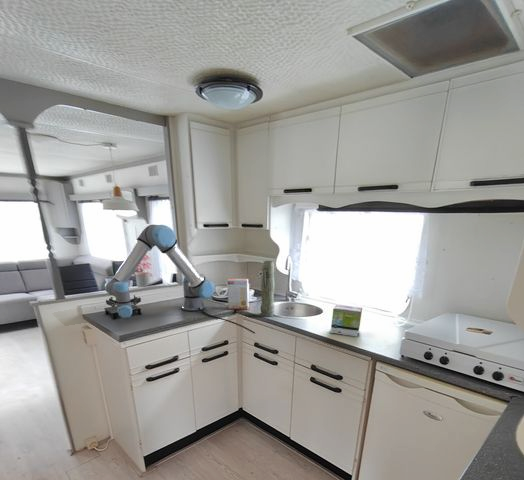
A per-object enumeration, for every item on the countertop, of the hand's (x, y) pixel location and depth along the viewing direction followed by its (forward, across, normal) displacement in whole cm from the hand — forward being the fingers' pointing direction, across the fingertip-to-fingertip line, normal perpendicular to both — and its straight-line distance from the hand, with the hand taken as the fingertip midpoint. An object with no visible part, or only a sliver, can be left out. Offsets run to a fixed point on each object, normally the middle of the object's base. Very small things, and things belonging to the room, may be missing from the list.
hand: (123, 298), depth 210 cm
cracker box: (-12, +75, -11) cm, 76 cm away
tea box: (-83, +114, -11) cm, 142 cm away
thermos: (-34, +88, -11) cm, 95 cm away
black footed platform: (+1, -2, -11) cm, 11 cm away
